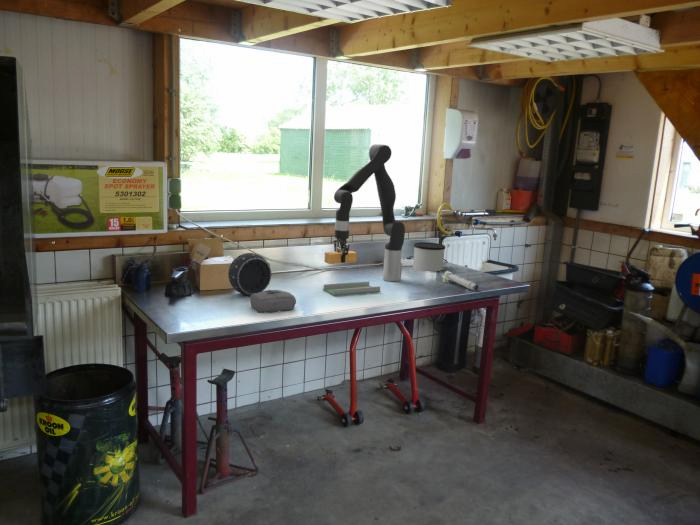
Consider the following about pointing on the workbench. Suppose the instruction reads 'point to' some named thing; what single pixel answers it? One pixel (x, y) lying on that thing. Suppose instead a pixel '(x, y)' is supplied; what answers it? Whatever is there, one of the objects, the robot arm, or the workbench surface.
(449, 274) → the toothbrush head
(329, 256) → the chute
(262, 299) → the soft grey pack
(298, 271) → the workbench surface
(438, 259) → the container
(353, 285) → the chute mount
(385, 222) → the robot arm
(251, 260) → the dark patterned drum
